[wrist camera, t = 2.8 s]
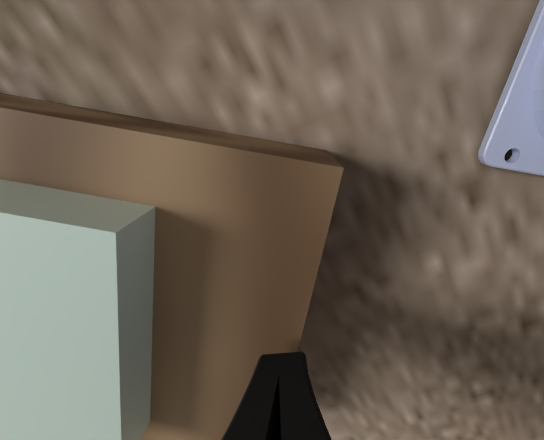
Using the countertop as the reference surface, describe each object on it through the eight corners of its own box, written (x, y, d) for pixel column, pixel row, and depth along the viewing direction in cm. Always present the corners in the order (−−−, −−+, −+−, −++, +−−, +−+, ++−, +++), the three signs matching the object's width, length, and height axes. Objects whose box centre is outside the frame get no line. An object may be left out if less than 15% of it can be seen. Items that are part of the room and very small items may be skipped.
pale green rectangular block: (155, 206, 8) (115, 232, 6) (150, 420, 11) (122, 480, 10) (-50, 169, 8) (-149, 185, 6) (0, 394, 11) (-57, 448, 10)
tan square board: (326, 150, 11) (344, 167, 8) (272, 389, 16) (266, 474, 12) (-49, 84, 11) (-214, 69, 8) (3, 341, 16) (-86, 411, 12)
